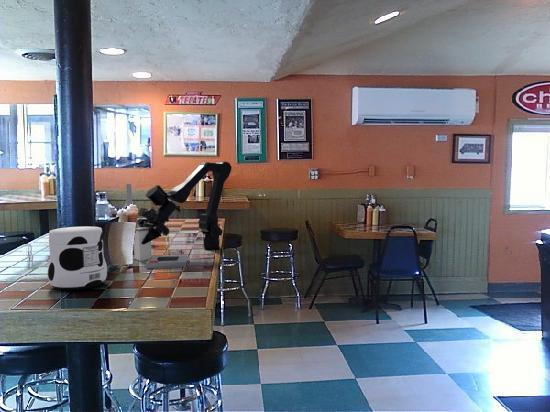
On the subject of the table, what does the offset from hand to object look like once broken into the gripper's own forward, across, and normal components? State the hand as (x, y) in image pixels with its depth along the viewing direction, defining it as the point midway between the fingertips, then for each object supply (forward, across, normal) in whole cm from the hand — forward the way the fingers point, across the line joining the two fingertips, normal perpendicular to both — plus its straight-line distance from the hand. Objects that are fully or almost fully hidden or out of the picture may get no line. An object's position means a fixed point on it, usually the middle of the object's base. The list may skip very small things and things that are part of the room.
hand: (139, 243), depth 193 cm
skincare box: (-7, -34, +17) cm, 39 cm away
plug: (+4, 0, +6) cm, 7 cm away
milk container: (+28, +26, -18) cm, 42 cm away
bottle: (-9, -52, +19) cm, 56 cm away
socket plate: (+2, +15, +8) cm, 17 cm away
